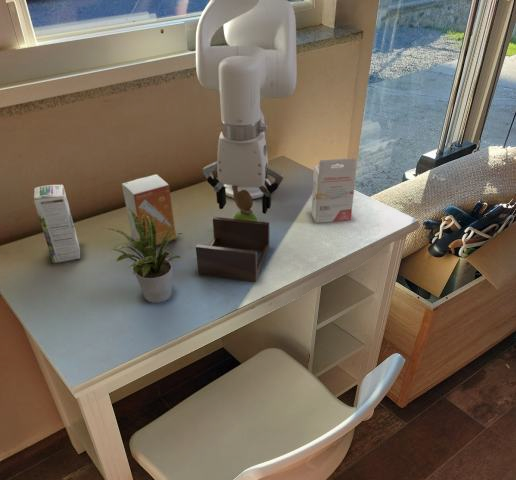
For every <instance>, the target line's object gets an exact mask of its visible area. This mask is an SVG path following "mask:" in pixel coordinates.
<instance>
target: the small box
mask: <svg viewBox="0 0 516 480" xmlns="http://www.w3.org/2000/svg"><path fill="white" fill-rule="evenodd" d="M121 187H122V193H123V198H124V203H125V207H126V213H127V218H128V221H129V222H128V223H129V228H130V233H131V238H132V239H133V241H135V240H137V239H140V235H139V233H138V232H137V229H136V226H135V223H134V220H133V217H132V215H131V213H130V211H129V209H131V210H132V211H133V212H134V213H135V214H136V216H137V217H138V219H139V222H140V225H141V228H142V216H143V214H144V215H145V216H144V218H145V227H146V237H147V230H148V224H147V217H146V214H147V216H148V217H149V219H150V217H152V218H153V221H154V224H155V227H156V246H158V245H161V244H162V242H163V239H164V238H165V236H166V234H167V232H168V230H169V228H170V227H171V226H172V227H171V229H170V231H169V234H168V235H167V237H166V239H167V238H168V237H171V236H173V235H175V234H176V229H175V219H174V213H173V205H172V198H171V189H170V184H169V183H168V182H167V181H165V180H164V179H163V178H162V177H161V176H159V174H157V173H156V174H152V175H149V176H144V177H139V178H136V179H134V180H130V181H126V182H122V183H121ZM150 215H151V216H150ZM150 221H151V220H150ZM172 224H173V225H172ZM166 239H165V240H166ZM175 240H177V236H175V237H174V238H173V239H171V240H170V241H169V242H171V241H175Z"/></svg>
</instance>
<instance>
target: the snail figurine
mask: <svg viewBox="0 0 516 480" xmlns="http://www.w3.org/2000/svg"><path fill="white" fill-rule="evenodd" d="M232 189H233V195H234V198H233V199H234V202H235V205H236V207H237V208H238V209H239V211H238V212H237V213H236V214H234V216H233V219H240V220H249V221H258V217H257V216H256V214H254V212H253V210H252V207H253V205H254V202H253V199H252V197H251V195H250V194H249V192H248V191H246V190H241V191H239V193H238V186H234V185H232Z"/></svg>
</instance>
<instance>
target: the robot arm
mask: <svg viewBox="0 0 516 480" xmlns="http://www.w3.org/2000/svg"><path fill="white" fill-rule="evenodd" d="M296 21H297V19H296V14H295V9H294V7H293V5H292V3H291V2H290V1H289V0H209V1H208V3H207V5H206V6H205V8H204V9H203V11H202V13H201V14H200V17H199V20H198V23H197V27H196V33H195V68H196V69H195V71H196V77H197V80H198V83H199V84H200V85H201V86H202V87H203V88H204V89H206V90H210V91H219V103H220V118H221V120H220V121H221V132H220V134H219V138H218V142H217V143H218V144H217V157H216V158H217V160H216V161H214V162H212V163H210V164H208V165H205V166H204V167H203V168H202V169H201V172H202V174H203V176H204V177H205V178H206V181H207V183H208V184H209V185H210V186H211V187H212V188H213V191H214V192H215V194H216V203H217V204H218V209H219V210H223V209H224V207H225V206H226V204H227V197H229V198H232V199H234V195H233V189H232V185H234V186H238V193H239V191H241V190H246V191H248V192H249V194H250V195H251V197H252V200H255V199H259V198H261V209H262V210H261V213H262V214H264V215H266V214H267V212H268V210H269V209H271V207H272V194H273V193H274V192H275V191H277V190H278V189H279V187H280V185H281V183H282V182H283V180H284V178H285V174H284V173H282V172H281V171H279V170H277V169H276V168H274V167H273V166H271V165H269V155H268V147H267V141H266V136H265V135H266V133H267V132H268V129H269V125H268V124H266V123H265V116H264V113H263V111H262V109H261V99H283V98H289V97H290V96H291V95H293V94H294V92H295V91H296V87H297V80H298V79H297V78H298V77H297V76H298V68H297V66H298V65H297V63H298V61H297V60H298V59H297V23H296ZM221 27H223V34H224V35H223V36H224V40H225V42H226V44H227V45H214V46H211V42H212V39H213V36H214V35H215V33H216V32H217V31H218V30H219V29H220V28H221ZM215 171H217V177H216V176H215V175H214V174H213V172H215ZM269 176H270V177H271V178H273V179H274V181H273V182H272V183H271V181H270V180H269Z"/></svg>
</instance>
